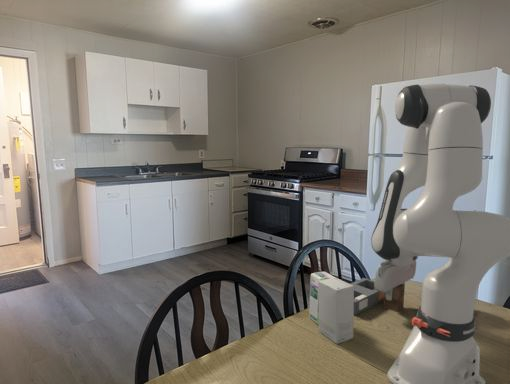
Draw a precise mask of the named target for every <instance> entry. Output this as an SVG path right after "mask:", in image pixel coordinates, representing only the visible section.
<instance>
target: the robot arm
mask: <svg viewBox="0 0 510 384" xmlns="http://www.w3.org/2000/svg"><path fill="white" fill-rule="evenodd" d="M491 107H492V98H491V95H490V93H489V92H488V90H487V89H486V88H484V87H481V86H477V85H473V84H472V85H471V84H470V85H463V84H462V85H461V84H460V85H459V84H446V83H429V84H428V83H427V84H422V85H421V84H411V85H408V86H407V85H406V86H404V87H403V88H402V89H401V90H400V91H399V93H398V94H397V98H396V100H395V103H394V113H395V116H396V120H397V122H399V123H400V124H401V125H403V126H405V127H407V129H406V133H405V137H404V142H403V143H404V144H403V152H402V156H401V157H402V158H401V160H400V163H399V164H398V167H397V168H396V170H395V171H393V172H392V173H391V174H390V175H389V178H388V181H387V183H386V187H385V190H384V195H383V199H382V203H381V206H380V211H379V216H378V219H377V222H376V224H375V227H374V230H373V232H372V235H371V239H370V241H371V244H370V245H371V248H372V250H373V251H374V253H375V254H376V255H378V257H380V258H381V260H382V262H381V263H380V265H379V266H378V267H376V271H375V276H374V281H375V282H374V287H375V289H376V290H378V291H381V292H385V293H386V299H387V300H389V301H391V300H392V299H393V294H392V290H393V288H394V287H396V286H398V285H400V284H404V285H405V286H406V282H408V281H410V280H412V279H414V278H415V275H416V270H417V260H418V258H419V257H430V258H431V257H433V258H434V257H437V258H449V259H448V260H447V261H446V262H445V264H443V265H442V266H441V267H438V268H435V269H433V270H430V271H429V272H428V273H427V274H426V275H425V276H424V278H423V280H422V282H421V283H422V284H421V298H420V299H421V300H420V305H419V307H418V310H417V313H416V316H414V317H413V318H412V320H411V325H412V326H413V327H412V329H411V331H410V333H409V335H408V337H407V339H406V341H405V343H404V345H403V347H402V350H401V351H400V353H399V354H398V356H397V357H396V359H395V360H394V362H393V363H392V365H391V366H390V368H389V369H388V371H387V374H386V375H387V376H386V377H387V378H388V380H389V381H390V382H391V383H392V384H486V383H487V382H486V380H485V378H483V377H482V376H481V375H480V361H481V360H480V353H481V352H480V350H481V349H480V347H479V345H478V344H477V342H476V340H475V338H474V333H475V329H476V322H475V321H476V319H475V317H474V311H475V303H476V298H477V292H478V288H479V286H480V284H481V282H482V280H483V278H484V277H485V275H486V274H487V273H489V271H490V270H491V269H492V268H493V267H494V266H495V265H497V264H498V263H499V262H500V261H503V260H504V259H507V258H508V257H510V218H509V217H508V216H506V215H502V214H498V213H492V212H488V211H483V210H482V211H481V210H480V211H477V210H454V209H453V208H454V204H455V202H456V200H458V198H459V197H461V196H465V195H467V194H468V193H469V194H470V193H471V192H473V191H474V190H476V189H477V188H478V187H479V186H480V185H481V183H482V180H483V158H484V157H483V156H484V155H483V153H484V151H483V148H484V139H483V128H482V123H483V122H485V121H486V119H488V117H489V114H490V111H491ZM422 187H423V188H422ZM419 188H422V189H423V190H422V191H421V193H420V195H419V196H418V198H417V200H416V201H414V202H413V204H412V205H411V206H410V207H408V208H402V207H403V203H404V200H405V199H406V197H407V196H408V195H409V194H410V193H412V192H414V191H416V190H417V189H419Z"/></svg>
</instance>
